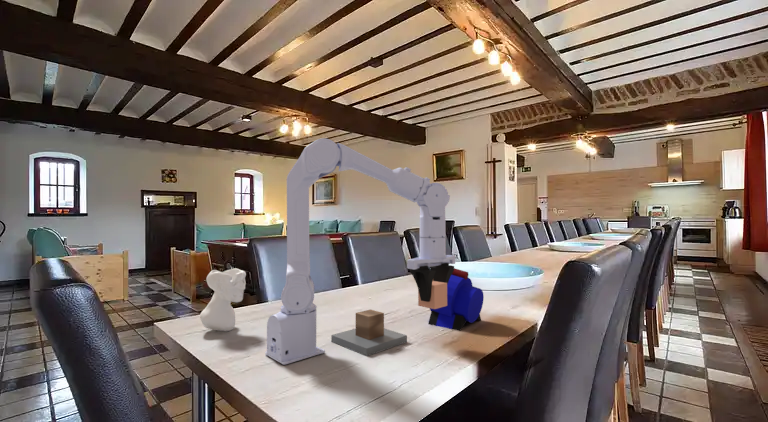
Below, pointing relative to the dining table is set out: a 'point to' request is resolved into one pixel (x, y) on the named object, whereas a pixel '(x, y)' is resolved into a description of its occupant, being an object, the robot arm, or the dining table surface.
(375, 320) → the walnut block
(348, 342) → the base plate
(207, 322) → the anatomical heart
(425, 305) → the terracotta block
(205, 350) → the dining table surface
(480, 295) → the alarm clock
